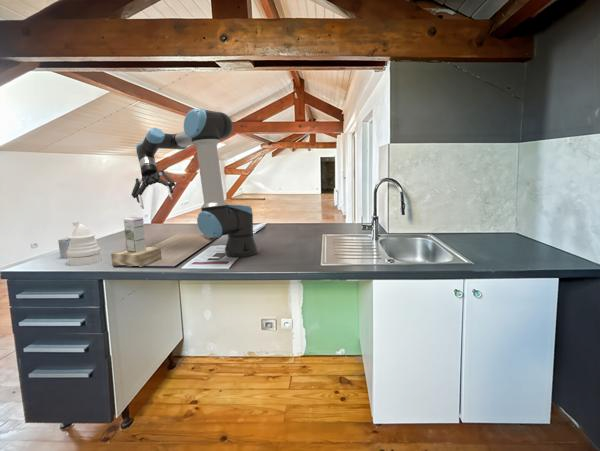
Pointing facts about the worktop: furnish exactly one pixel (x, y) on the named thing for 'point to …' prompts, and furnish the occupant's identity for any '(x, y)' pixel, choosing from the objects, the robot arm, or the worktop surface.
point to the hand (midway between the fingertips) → (156, 202)
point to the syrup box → (134, 234)
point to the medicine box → (63, 247)
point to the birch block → (136, 257)
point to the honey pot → (83, 246)
